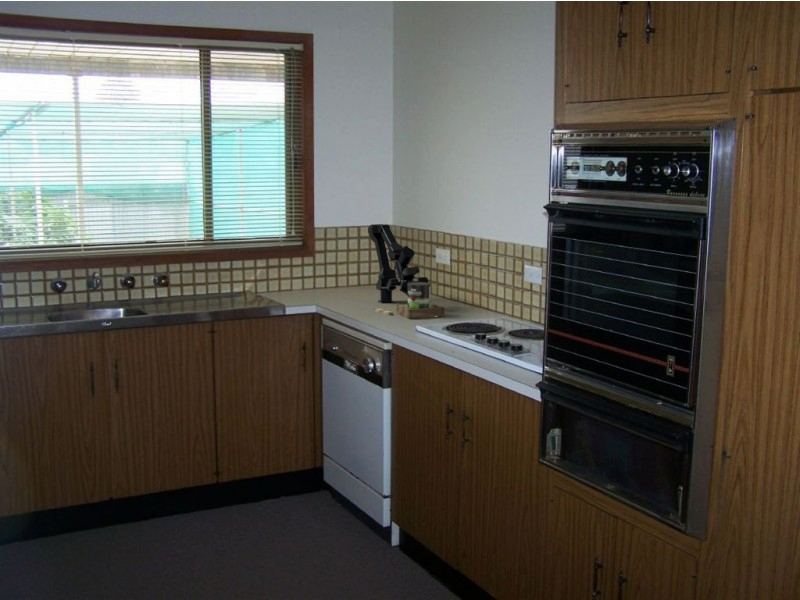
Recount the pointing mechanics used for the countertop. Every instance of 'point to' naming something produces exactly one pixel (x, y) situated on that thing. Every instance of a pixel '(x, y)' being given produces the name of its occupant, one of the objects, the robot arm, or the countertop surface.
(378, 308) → the oak stirring stick
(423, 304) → the coffee can
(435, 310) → the walnut cubby
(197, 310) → the countertop surface
